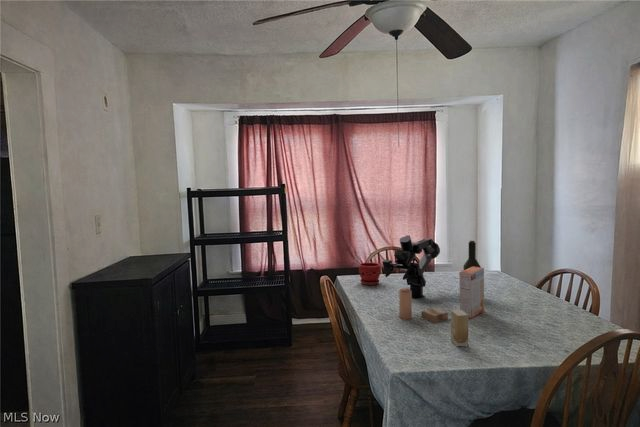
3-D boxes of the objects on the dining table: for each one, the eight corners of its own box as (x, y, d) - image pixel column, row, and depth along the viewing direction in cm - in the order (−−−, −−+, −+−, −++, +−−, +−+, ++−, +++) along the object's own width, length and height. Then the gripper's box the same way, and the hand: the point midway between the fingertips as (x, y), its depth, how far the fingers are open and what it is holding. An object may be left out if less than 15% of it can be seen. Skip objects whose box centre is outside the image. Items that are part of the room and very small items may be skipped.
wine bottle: (480, 295, 202) (481, 240, 199) (480, 300, 194) (480, 242, 192) (464, 294, 205) (464, 239, 203) (462, 298, 198) (462, 241, 195)
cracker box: (472, 308, 182) (472, 265, 180) (484, 311, 178) (485, 267, 176) (458, 316, 172) (458, 271, 171) (471, 319, 168) (472, 273, 166)
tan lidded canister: (405, 314, 177) (405, 287, 176) (414, 318, 172) (414, 290, 171) (396, 317, 174) (396, 289, 173) (405, 320, 169) (405, 292, 168)
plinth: (433, 313, 177) (433, 307, 176) (447, 318, 170) (447, 312, 169) (421, 317, 172) (421, 310, 172) (435, 322, 166) (435, 315, 165)
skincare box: (450, 340, 147) (450, 309, 146) (461, 339, 147) (461, 309, 146) (457, 347, 140) (457, 315, 140) (468, 346, 141) (469, 314, 140)
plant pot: (382, 285, 226) (382, 266, 225) (360, 286, 227) (359, 266, 226) (379, 280, 239) (378, 261, 238) (358, 280, 240) (358, 262, 239)
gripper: (386, 244, 195) (373, 262, 185) (421, 247, 184) (409, 266, 173) (391, 261, 200) (378, 280, 189) (425, 265, 188) (413, 285, 178)
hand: (394, 277), depth 182 cm, fingers open, 9 cm apart
